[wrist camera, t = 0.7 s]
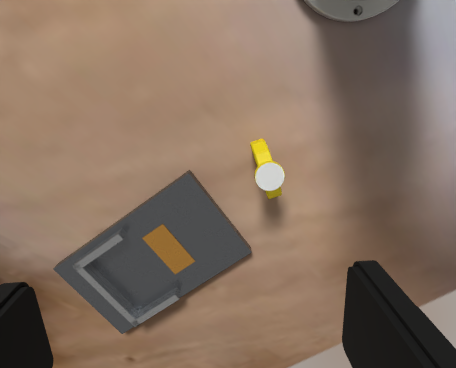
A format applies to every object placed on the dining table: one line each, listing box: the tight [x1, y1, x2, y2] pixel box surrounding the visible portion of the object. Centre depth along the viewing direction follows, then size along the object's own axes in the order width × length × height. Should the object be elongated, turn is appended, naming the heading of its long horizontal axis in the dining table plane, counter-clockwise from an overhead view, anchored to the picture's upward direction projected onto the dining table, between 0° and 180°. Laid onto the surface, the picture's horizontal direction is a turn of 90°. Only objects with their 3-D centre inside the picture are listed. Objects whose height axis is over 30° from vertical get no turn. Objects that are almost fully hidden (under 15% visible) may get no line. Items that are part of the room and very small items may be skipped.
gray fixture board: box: [54, 170, 251, 334], centre depth 37 cm, size 20×12×3 cm, turn 126°
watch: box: [250, 139, 285, 199], centre depth 32 cm, size 6×3×6 cm, turn 19°
